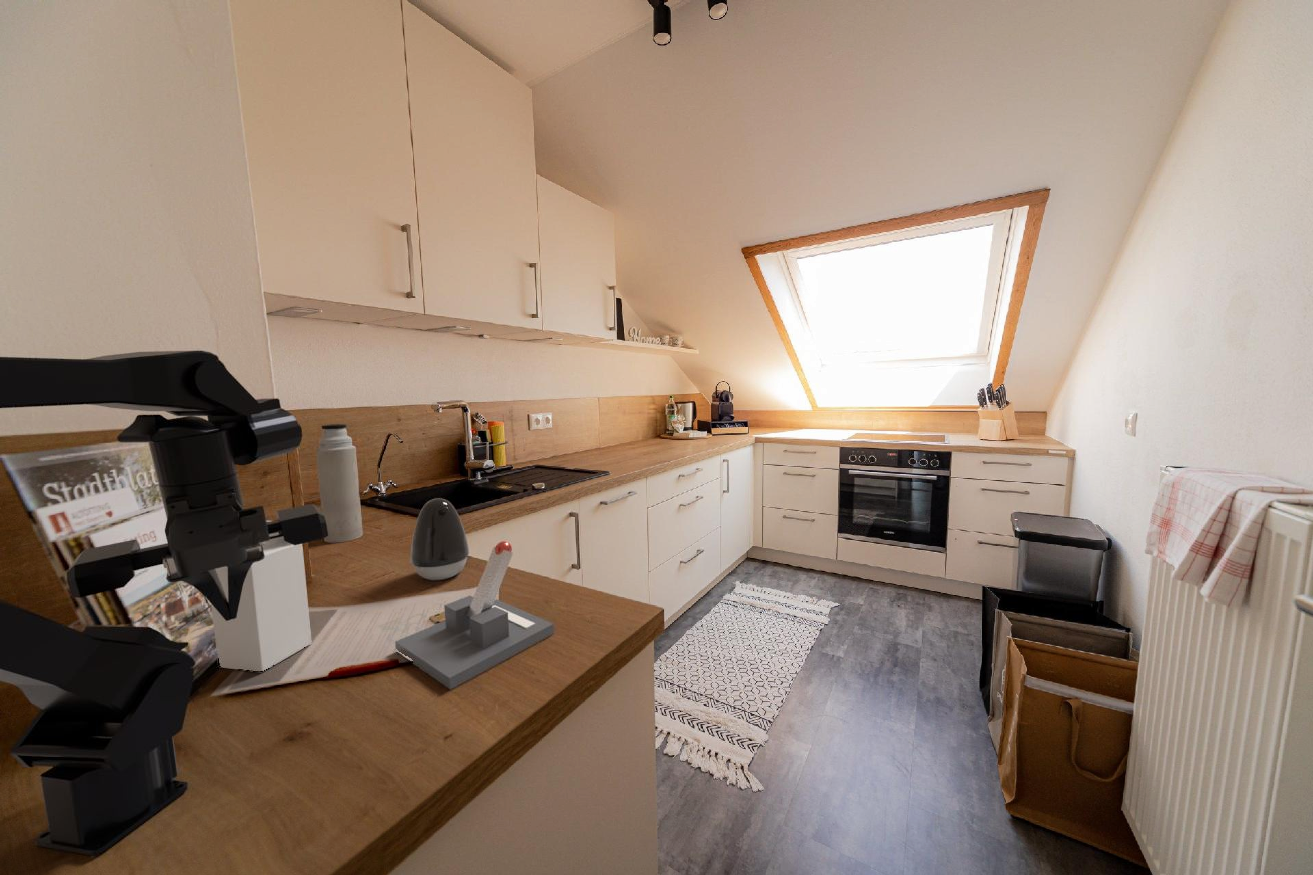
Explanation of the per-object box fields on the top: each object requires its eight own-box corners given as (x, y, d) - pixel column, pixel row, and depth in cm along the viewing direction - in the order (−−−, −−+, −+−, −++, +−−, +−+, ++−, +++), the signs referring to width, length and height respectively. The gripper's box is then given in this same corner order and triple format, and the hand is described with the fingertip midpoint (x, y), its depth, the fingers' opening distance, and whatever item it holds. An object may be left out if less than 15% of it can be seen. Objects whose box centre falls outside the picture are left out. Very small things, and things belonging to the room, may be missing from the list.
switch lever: (474, 620, 65) (506, 541, 69) (463, 614, 67) (494, 537, 70) (488, 622, 67) (518, 545, 70) (477, 617, 69) (507, 541, 72)
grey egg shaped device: (421, 591, 85) (415, 508, 83) (406, 574, 93) (400, 498, 91) (478, 575, 92) (473, 498, 90) (459, 561, 99) (455, 490, 98)
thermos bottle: (353, 530, 122) (344, 422, 119) (369, 535, 118) (360, 423, 115) (318, 539, 116) (307, 425, 113) (333, 544, 111) (323, 426, 109)
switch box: (450, 689, 57) (447, 650, 56) (395, 651, 65) (393, 617, 65) (553, 633, 69) (552, 600, 69) (497, 607, 78) (495, 578, 77)
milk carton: (262, 673, 61) (246, 529, 59) (217, 668, 62) (201, 526, 60) (312, 644, 67) (300, 514, 65) (271, 639, 69) (258, 512, 67)
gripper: (25, 525, 35) (81, 705, 39) (324, 474, 48) (348, 614, 51) (61, 492, 44) (105, 643, 47) (308, 456, 56) (330, 577, 59)
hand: (231, 618), depth 51 cm, fingers closed
